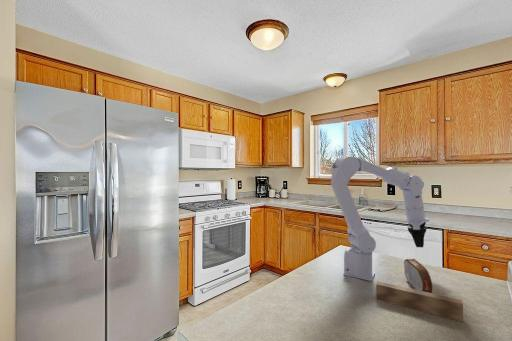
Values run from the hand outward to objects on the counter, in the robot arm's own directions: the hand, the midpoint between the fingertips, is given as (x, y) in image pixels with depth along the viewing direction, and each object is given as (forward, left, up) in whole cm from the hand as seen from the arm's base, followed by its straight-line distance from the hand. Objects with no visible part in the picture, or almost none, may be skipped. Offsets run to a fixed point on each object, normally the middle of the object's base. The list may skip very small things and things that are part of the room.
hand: (419, 243), depth 91 cm
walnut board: (-1, -28, -11) cm, 30 cm away
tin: (-1, -14, -12) cm, 18 cm away
